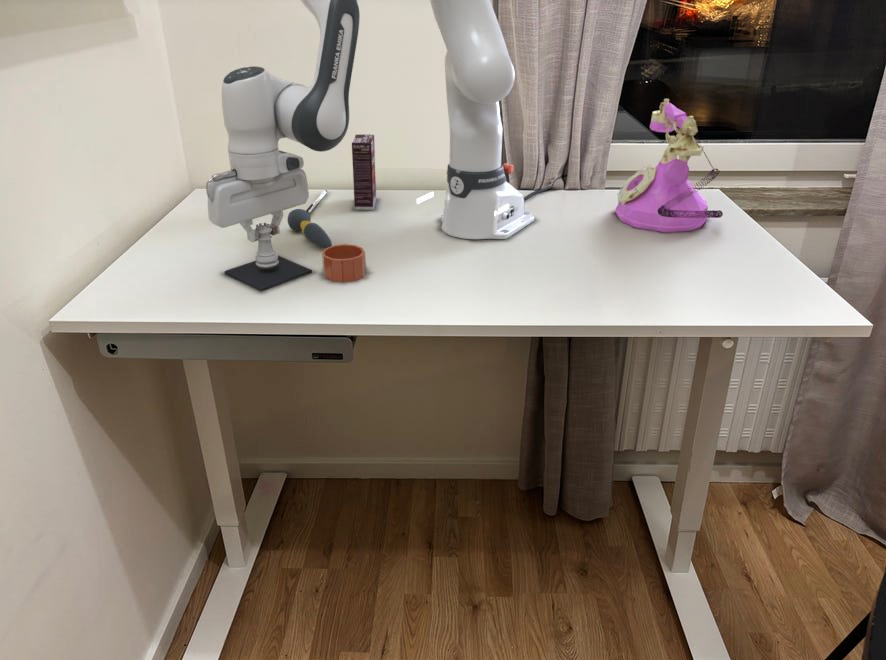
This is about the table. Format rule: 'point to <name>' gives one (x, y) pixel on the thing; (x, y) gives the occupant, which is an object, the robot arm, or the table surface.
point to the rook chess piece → (265, 248)
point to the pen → (316, 202)
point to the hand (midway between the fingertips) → (264, 237)
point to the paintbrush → (308, 228)
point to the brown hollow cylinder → (344, 263)
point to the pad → (267, 274)
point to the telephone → (667, 181)
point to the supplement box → (364, 172)
